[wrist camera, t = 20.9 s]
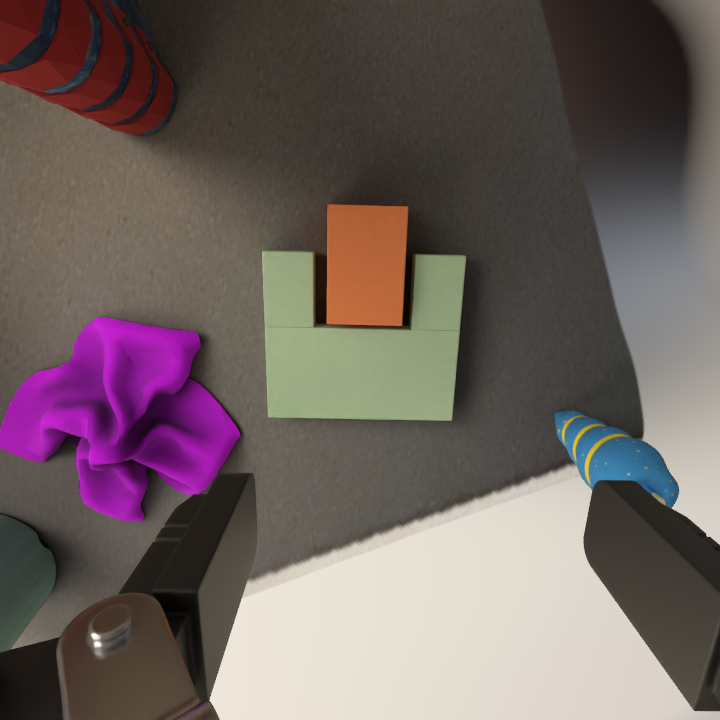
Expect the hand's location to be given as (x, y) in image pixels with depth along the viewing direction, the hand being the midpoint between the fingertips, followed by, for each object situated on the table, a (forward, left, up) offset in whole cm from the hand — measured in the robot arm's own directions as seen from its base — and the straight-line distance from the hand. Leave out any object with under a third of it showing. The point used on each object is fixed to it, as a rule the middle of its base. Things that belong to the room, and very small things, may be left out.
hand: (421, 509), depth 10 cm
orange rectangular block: (+1, -4, -28) cm, 28 cm away
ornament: (-17, +9, -28) cm, 34 cm away
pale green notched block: (+1, +2, -28) cm, 28 cm away
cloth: (+23, +11, -28) cm, 38 cm away
